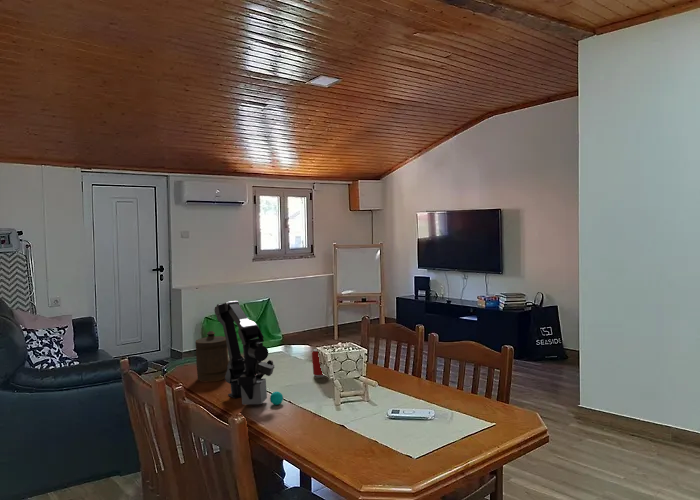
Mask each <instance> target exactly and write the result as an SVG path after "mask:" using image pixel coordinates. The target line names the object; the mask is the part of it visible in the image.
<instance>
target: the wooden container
mask: <svg viewBox="0 0 700 500" xmlns="http://www.w3.org/2000/svg"><path fill="white" fill-rule="evenodd" d="M206 335H207V336H206V337H202V338H199V339H196V340H195V355H196V356H195V357H196V358H195V359H196V374H197V376H196V377H197V381H199V380H200V381H199V382H202V381H214V382H219V381H224V380H225V375H226V373H227V370H228V368H227V365H228V362H229V360H230V357H229V353H228V348H227V343H226V338H225V335H224V336H222V335H220V336H219V335H216V332H214V331H213V330H210V331H208V332H207V333H206ZM215 335H216V336H215Z"/></svg>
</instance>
